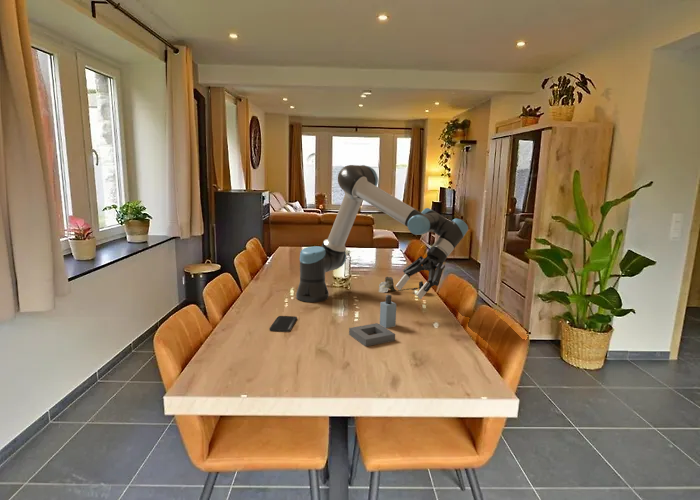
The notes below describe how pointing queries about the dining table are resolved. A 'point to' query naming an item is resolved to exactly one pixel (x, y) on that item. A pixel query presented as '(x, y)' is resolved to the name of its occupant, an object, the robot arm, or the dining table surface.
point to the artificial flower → (390, 285)
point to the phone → (283, 323)
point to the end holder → (367, 340)
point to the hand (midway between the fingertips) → (407, 292)
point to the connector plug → (388, 313)
